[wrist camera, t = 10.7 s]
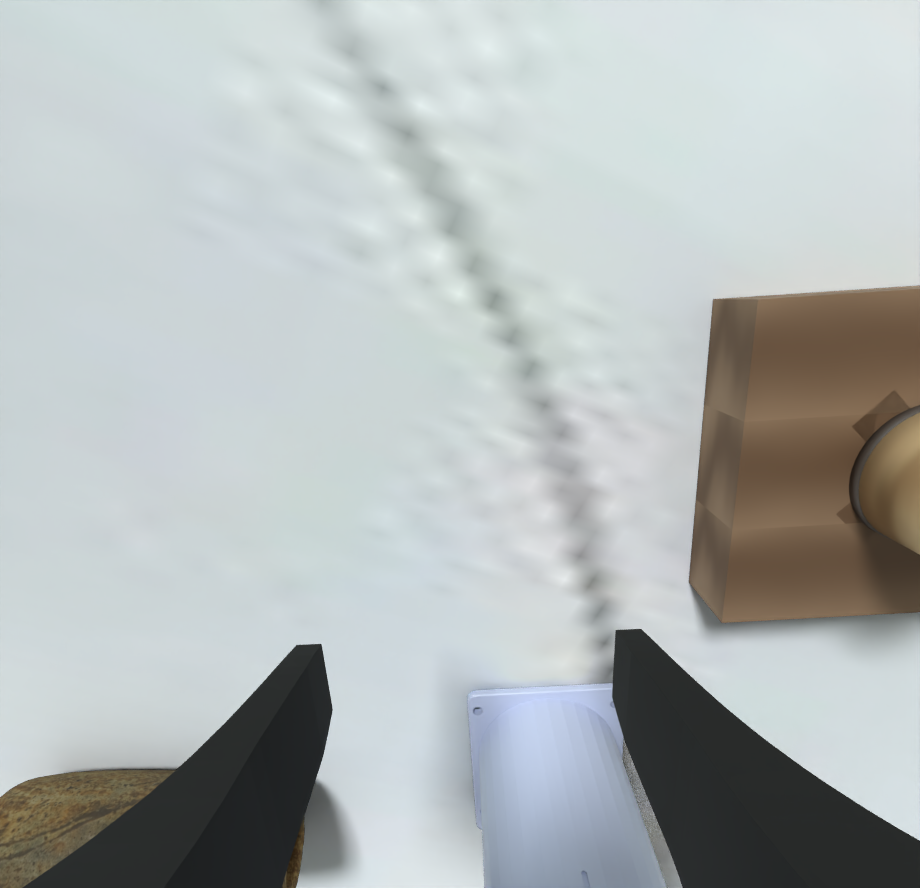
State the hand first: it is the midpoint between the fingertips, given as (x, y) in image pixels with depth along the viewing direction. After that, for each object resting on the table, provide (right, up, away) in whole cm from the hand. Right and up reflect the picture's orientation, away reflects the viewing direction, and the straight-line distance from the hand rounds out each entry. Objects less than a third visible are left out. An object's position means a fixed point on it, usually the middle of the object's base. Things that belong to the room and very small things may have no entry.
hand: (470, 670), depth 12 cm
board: (+17, +6, +9) cm, 20 cm away
